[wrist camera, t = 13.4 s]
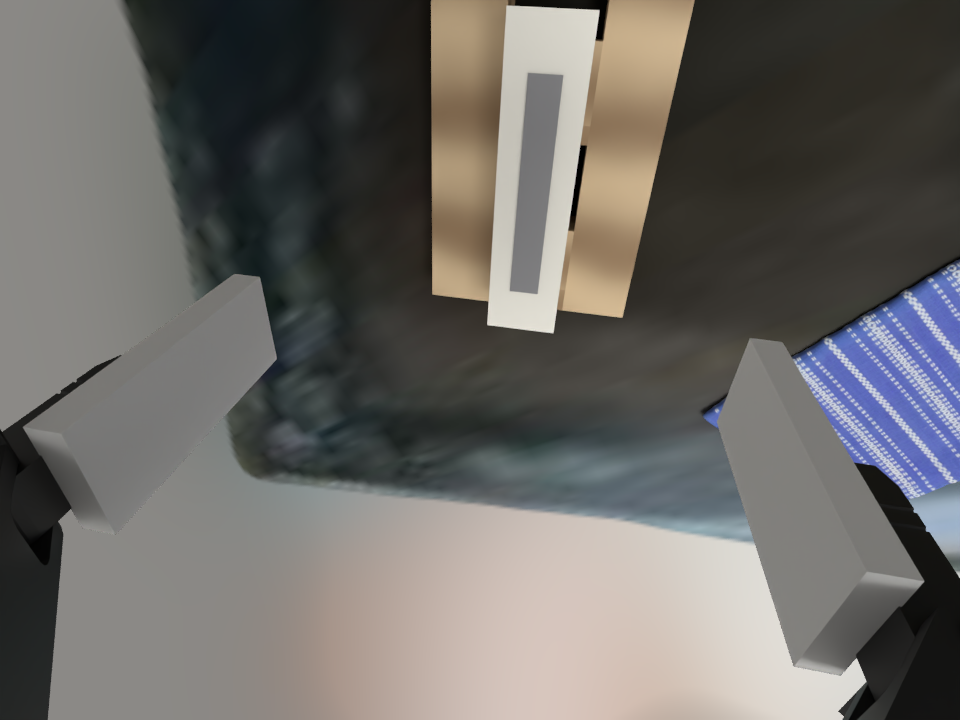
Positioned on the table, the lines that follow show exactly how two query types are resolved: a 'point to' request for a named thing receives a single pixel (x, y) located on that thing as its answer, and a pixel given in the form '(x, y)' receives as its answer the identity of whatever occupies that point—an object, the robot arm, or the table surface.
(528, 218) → the strip
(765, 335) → the table surface
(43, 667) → the robot arm
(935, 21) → the table surface
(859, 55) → the table surface
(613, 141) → the board
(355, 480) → the table surface
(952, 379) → the dish towel
